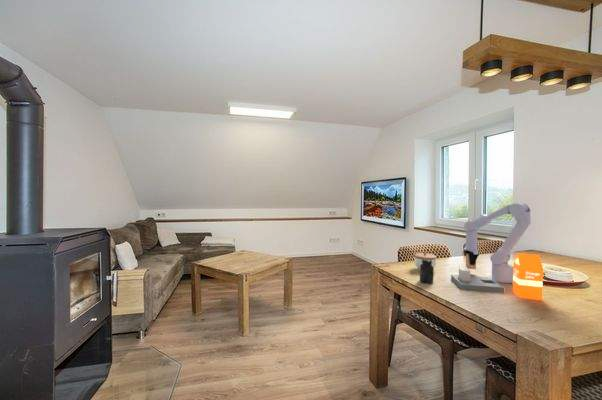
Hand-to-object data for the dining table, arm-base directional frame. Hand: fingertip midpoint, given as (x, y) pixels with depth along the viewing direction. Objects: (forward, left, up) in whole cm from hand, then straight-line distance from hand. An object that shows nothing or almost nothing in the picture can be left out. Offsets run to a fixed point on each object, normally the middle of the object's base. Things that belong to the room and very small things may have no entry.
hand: (470, 263), depth 164 cm
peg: (0, 0, -3) cm, 2 cm away
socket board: (+5, +22, -6) cm, 23 cm away
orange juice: (-13, +32, -6) cm, 35 cm away
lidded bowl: (+25, -2, -6) cm, 26 cm away
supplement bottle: (+29, +22, -6) cm, 37 cm away
